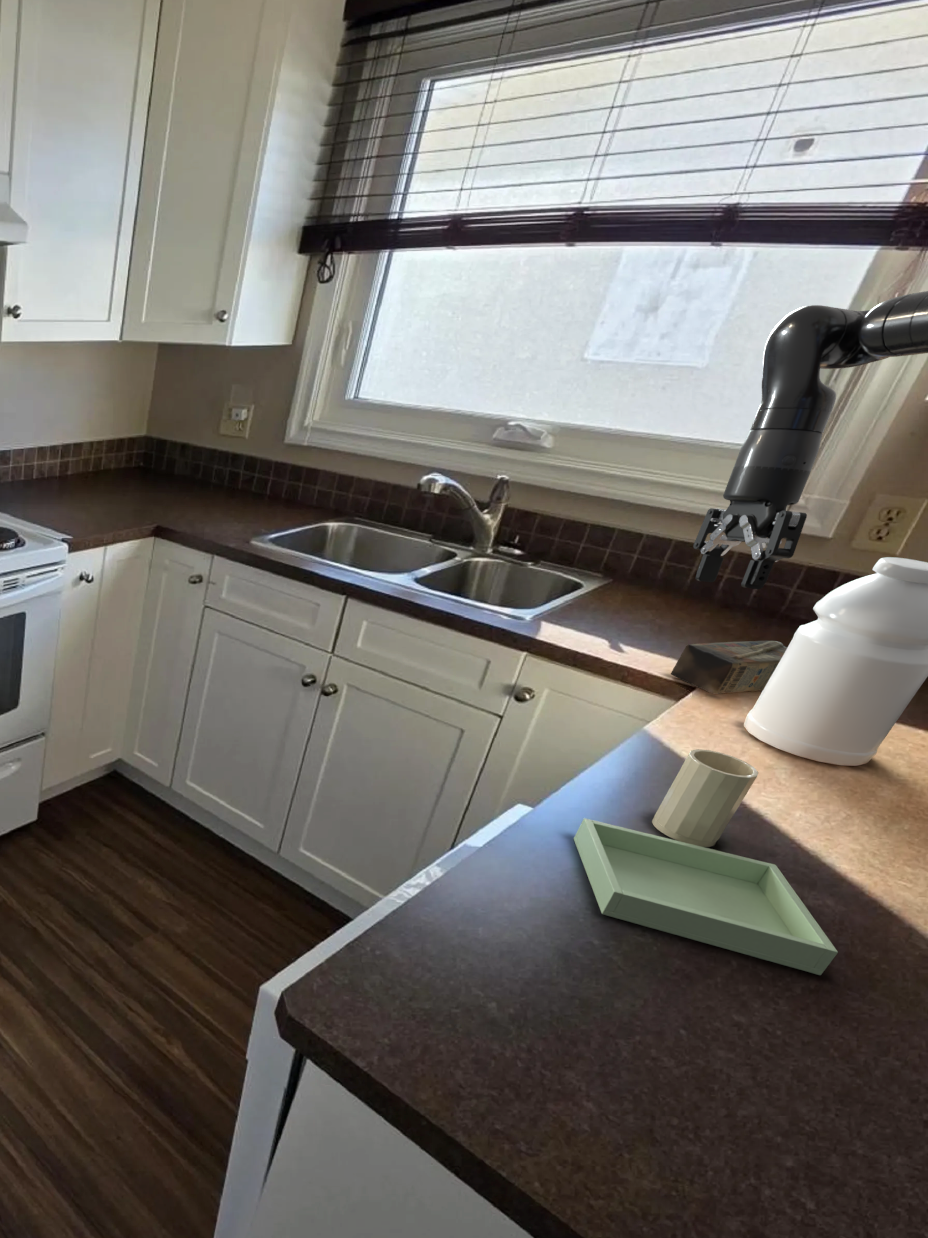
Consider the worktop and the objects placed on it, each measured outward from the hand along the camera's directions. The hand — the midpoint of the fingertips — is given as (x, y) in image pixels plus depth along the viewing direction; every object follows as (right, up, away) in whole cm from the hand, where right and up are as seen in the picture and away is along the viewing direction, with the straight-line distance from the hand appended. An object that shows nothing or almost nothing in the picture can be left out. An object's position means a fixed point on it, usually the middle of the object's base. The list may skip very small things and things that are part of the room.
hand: (726, 584), depth 113 cm
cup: (-20, -32, -15) cm, 41 cm away
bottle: (+18, -23, +7) cm, 30 cm away
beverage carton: (+26, -14, +25) cm, 39 cm away
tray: (-31, -38, -26) cm, 55 cm away
